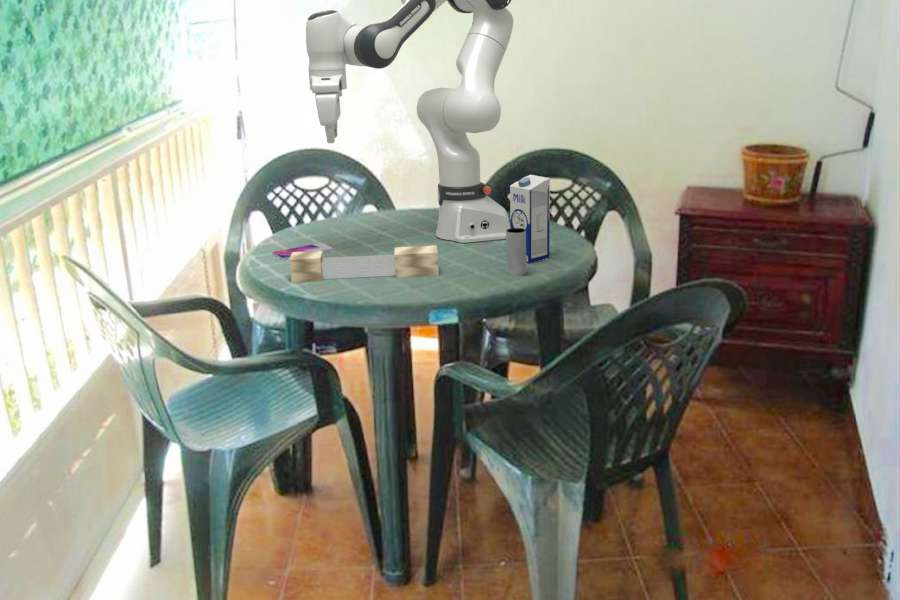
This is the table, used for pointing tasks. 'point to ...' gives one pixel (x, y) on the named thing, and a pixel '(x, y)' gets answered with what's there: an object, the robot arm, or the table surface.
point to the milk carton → (532, 214)
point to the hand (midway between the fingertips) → (332, 140)
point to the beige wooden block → (306, 266)
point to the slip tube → (358, 266)
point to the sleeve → (416, 261)
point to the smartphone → (303, 250)
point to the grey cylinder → (516, 251)
